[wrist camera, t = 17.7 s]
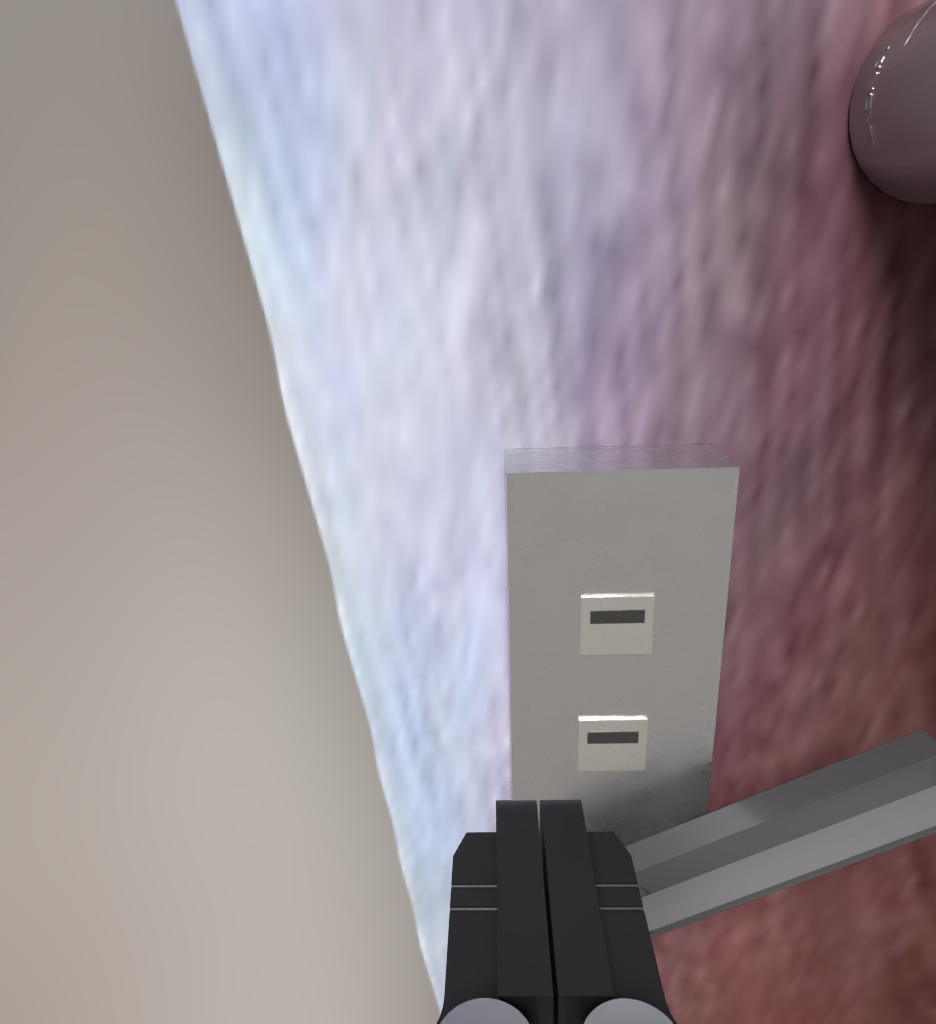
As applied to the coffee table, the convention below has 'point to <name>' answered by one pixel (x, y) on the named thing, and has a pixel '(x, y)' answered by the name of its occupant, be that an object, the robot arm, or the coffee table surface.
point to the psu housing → (617, 627)
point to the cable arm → (789, 833)
